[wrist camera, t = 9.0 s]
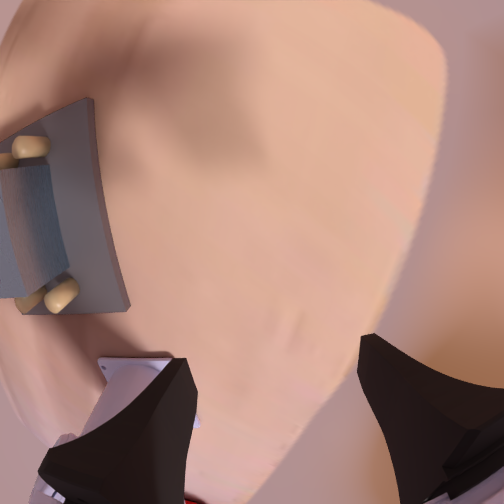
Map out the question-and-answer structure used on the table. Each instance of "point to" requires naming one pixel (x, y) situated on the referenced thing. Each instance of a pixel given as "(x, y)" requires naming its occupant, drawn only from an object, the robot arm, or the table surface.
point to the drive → (28, 231)
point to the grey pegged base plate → (72, 213)
